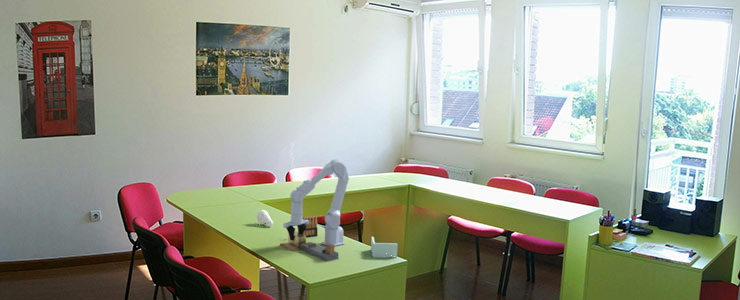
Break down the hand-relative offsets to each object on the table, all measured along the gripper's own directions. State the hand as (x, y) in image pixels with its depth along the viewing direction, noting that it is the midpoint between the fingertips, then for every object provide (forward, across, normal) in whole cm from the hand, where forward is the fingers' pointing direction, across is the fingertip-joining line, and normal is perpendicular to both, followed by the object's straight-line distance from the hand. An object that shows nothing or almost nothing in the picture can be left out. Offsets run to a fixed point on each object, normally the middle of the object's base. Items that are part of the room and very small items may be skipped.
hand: (295, 239), depth 289 cm
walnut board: (+3, 0, 0) cm, 3 cm away
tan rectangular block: (+2, 0, +1) cm, 2 cm away
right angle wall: (+4, -28, +36) cm, 46 cm away
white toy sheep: (+4, -9, -43) cm, 44 cm away
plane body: (+3, -1, +18) cm, 18 cm away
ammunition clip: (+4, -15, -10) cm, 18 cm away
